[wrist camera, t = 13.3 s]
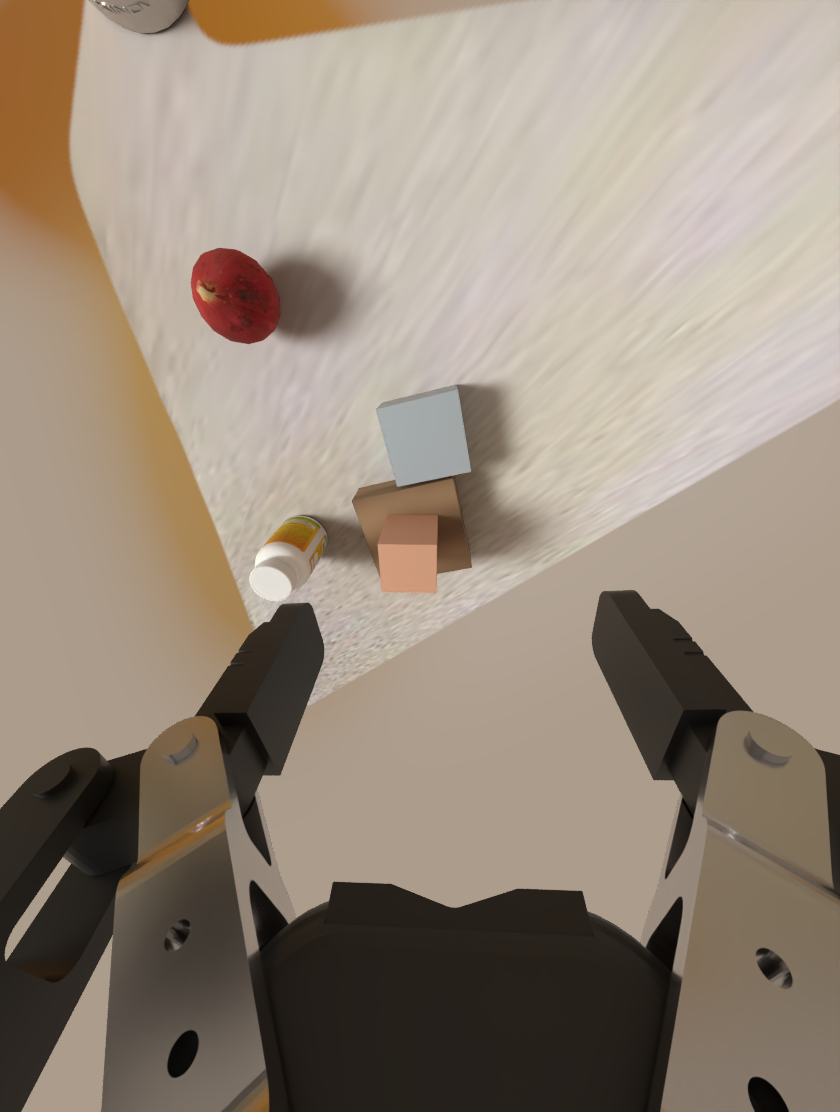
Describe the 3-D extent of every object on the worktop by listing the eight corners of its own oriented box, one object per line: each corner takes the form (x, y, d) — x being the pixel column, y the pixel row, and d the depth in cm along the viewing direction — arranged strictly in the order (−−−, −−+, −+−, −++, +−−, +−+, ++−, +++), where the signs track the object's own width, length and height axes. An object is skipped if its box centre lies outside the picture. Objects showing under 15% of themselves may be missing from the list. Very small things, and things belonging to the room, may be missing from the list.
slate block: (382, 402, 34) (375, 409, 30) (456, 384, 33) (457, 389, 29) (401, 473, 37) (397, 486, 34) (468, 459, 36) (471, 471, 33)
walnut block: (360, 486, 39) (351, 501, 35) (452, 465, 37) (452, 478, 33) (387, 564, 43) (382, 583, 40) (469, 548, 42) (471, 567, 38)
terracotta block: (387, 514, 36) (377, 544, 31) (437, 515, 35) (436, 544, 30) (390, 558, 38) (381, 591, 33) (437, 558, 38) (436, 593, 33)
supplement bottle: (272, 523, 41) (228, 570, 33) (312, 507, 40) (277, 551, 31) (298, 561, 43) (264, 613, 35) (337, 547, 42) (310, 598, 34)
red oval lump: (291, 264, 29) (244, 241, 22) (295, 347, 32) (254, 349, 25) (219, 253, 29) (148, 227, 22) (229, 337, 32) (170, 337, 25)
